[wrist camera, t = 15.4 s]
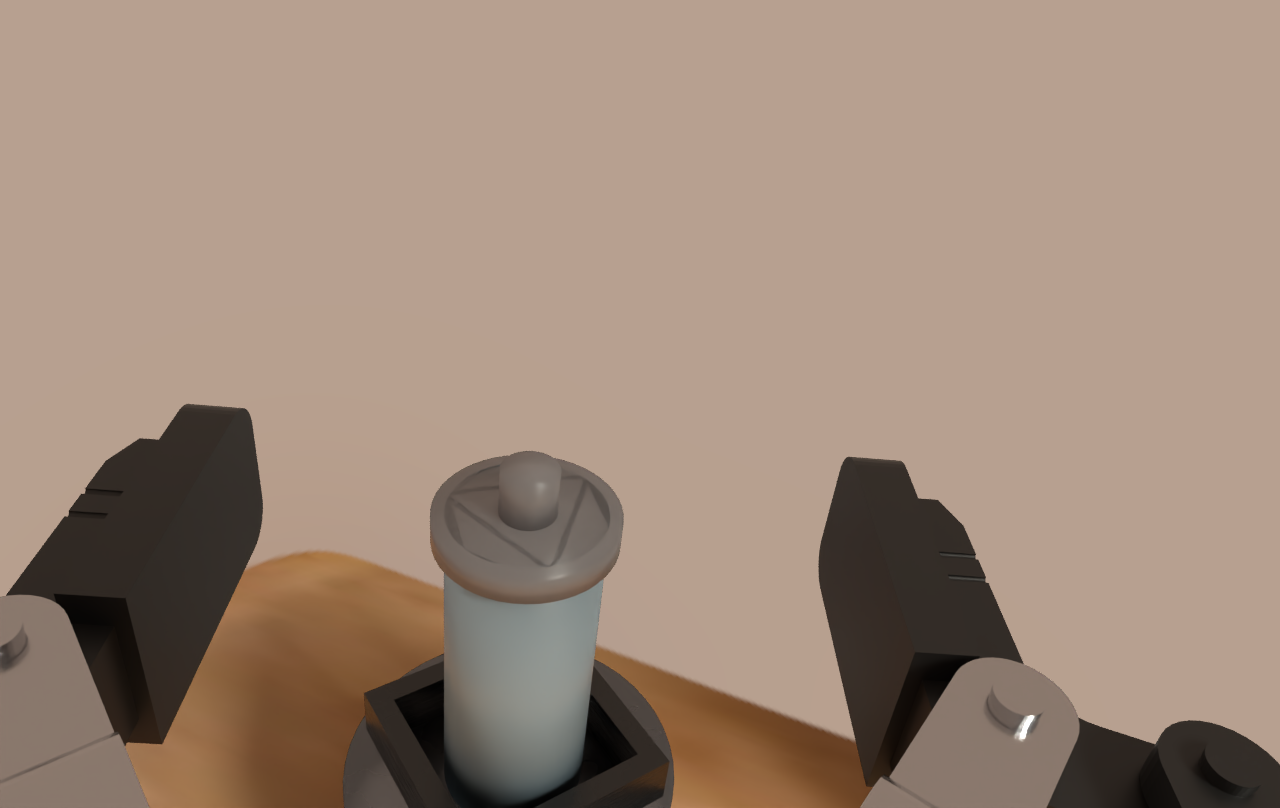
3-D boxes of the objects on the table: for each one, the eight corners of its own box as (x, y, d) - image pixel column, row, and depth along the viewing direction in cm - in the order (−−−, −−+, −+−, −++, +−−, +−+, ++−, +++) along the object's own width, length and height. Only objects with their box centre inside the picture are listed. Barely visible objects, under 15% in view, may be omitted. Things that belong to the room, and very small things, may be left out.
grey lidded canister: (542, 681, 40) (564, 397, 32) (622, 789, 36) (667, 496, 29) (406, 740, 37) (397, 442, 29) (478, 866, 33) (487, 559, 26)
